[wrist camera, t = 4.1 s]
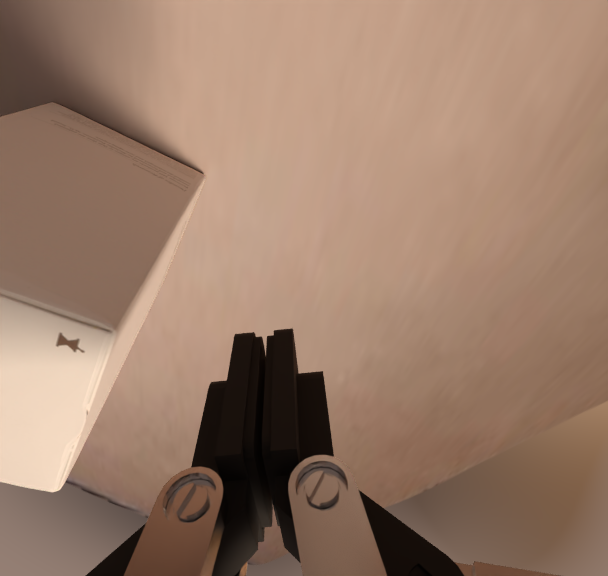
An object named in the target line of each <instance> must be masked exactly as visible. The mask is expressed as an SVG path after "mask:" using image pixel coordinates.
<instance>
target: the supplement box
mask: <svg viewBox="0 0 608 576" xmlns="http://www.w3.org/2000/svg"><path fill="white" fill-rule="evenodd" d="M205 179H206V176H205V175H204V174H202V173H200V172H198V171H196V170H194V169H192V168H190V167H188V166H186V165H183V164H181V163H179V162H177V161H175V160H173V159H171V158H169V157H167V156H165V155H163V154H161V153H159V152H157V151H154V150H152V149H150V148H148V147H146V146H144V145H142V144H140V143H138V142H136V141H134V140H132V139H130V138H128V137H126V136H124V135H122V134H120V133H118V132H116V131H113V130H111V129H109V128H107V127H105V126H103V125H101V124H99V123H97V122H95V121H93V120H91V119H89V118H87V117H85V116H83V115H81V114H78V113H76V112H74V111H72V110H70V109H68V108H66V107H63V106H61V105H59V104H57V103H54V102H51V103H47V104H44V105H40V106H37V107H33V108H30V109H26V110H22V111H19V112H15V113H12V114H8V115H4V116H1V117H0V482H4V483H8V484H13V485H17V486H21V487H26V488H32V489H37V490H43V491H49V492H55V491H58V490H60V489H61V487H62V486H63V485H64V483H65V481H66V479H67V477H68V475H69V473H70V471H71V469H72V467H73V465H74V464H75V462H76V460H77V458H78V456H79V454H80V452H81V450H82V448H83V446H84V443H85V441H86V439H87V437H88V435H89V433H90V431H91V429H92V427H93V425H94V423H95V421H96V419H97V417H98V415H99V413H100V411H101V409H102V407H103V405H104V403H105V401H106V399H107V397H108V394H109V392H110V390H111V388H112V386H113V384H114V382H115V380H116V378H117V376H118V374H119V372H120V370H121V368H122V366H123V364H124V362H125V360H126V357H127V355H128V353H129V351H130V349H131V347H132V345H133V343H134V341H135V339H136V337H137V335H138V333H139V331H140V329H141V327H142V325H143V323H144V321H145V319H146V317H147V315H148V313H149V310H150V308H151V306H152V304H153V302H154V300H155V298H156V296H157V294H158V292H159V290H160V288H161V286H162V284H163V282H164V280H165V277H166V275H167V272H168V270H169V268H170V265H171V263H172V260H173V258H174V256H175V253H176V251H177V248H178V246H179V243H180V241H181V239H182V236H183V234H184V231H185V229H186V226H187V224H188V222H189V219H190V217H191V214H192V212H193V210H194V207H195V205H196V202H197V200H198V197H199V195H200V192H201V190H202V187H203V185H204V182H205Z"/></svg>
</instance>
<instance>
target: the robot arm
mask: <svg viewBox="0 0 608 576" xmlns="http://www.w3.org/2000/svg"><path fill="white" fill-rule="evenodd" d="M273 506H274V511H275V515H276V520H277V524H278V526H280V528H281V533H282V538H283V542H284V547H285V548H286V549H287V550H288V551H289V552H290V553H291V554H292V555H293V556H294V557H295V558H296V559H297V560H298V561H299V562H300V563H301V568H302V574H303V576H560V575H554V574H548V573H542V572H536V571H530V570H524V569H518V568H512V567H506V566H500V565H493V564H487V563H482V562H476V561H474V563H473V565H468V564H461V563H456V562H453V561H452V560H451V559H450V558H449V557H448V556H447V555H446V554H444V553H443V552H441V551H440V550H439V549H438V548H436V547H435V546H433V545H432V544H431V543H429V542H428V541H427V540H425V539H424V538H423V537H421V536H420V535H419V534H417V533H416V532H415V531H413V530H411V528H409V527H408V526H406V525H405V524H404V523H402V522H401V521H400V520H398V519H397V518H396V517H394V516H393V515H392V514H390V513H389V512H388V511H386V510H385V509H384V508H382V507H381V506H380V505H378V504H377V503H375V502H374V501H373V500H371V499H370V498H369V497H367V496H366V495H365V494H363V493H362V492H361V491H359V490H358V487H357V485H356V482H355V479H354V476H353V474H352V472H351V470H350V468H349V467H348V466H347V465H346V464H345V463H344V462H343V461H341V460H339V459H337V458H335V457H334V454H333V447H332V439H331V431H330V423H329V415H328V408H327V400H326V392H325V384H324V376H323V371H321V372H311V373H301V374H298V366H297V358H296V350H295V342H294V334H293V329H283V330H274V335H273V336H267V348H266V355H265V350H264V344H263V339H262V337H256V336H255V333H254V332H253V333H242V334H235V336H234V342H233V348H232V354H231V360H230V366H229V371H228V377H227V381H218V382H211V384H210V386H209V389H208V393H207V398H206V403H205V407H204V412H203V416H202V421H201V425H200V430H199V434H198V439H197V444H196V448H195V453H194V457H193V462H192V466H191V468H188V469H186V470H183V471H181V472H179V473H178V474H176V475H175V476H173V477H172V478H171V479H170V480H169V481H168V482H167V483H166V484H165V485H164V486H163V488H162V490H161V491H160V493H159V495H158V497H157V499H156V501H155V504H154V506H153V508H152V511H151V513H150V515H149V518H148V520H147V522H146V524H145V525H143V526H142V527H141V528H140V529H139V530H138V531H137V532H135V533H134V534H133V535H132V536H131V537H130V538H128V539H127V540H126V541H125V542H124V543H123V544H122V545H121V546H119V547H118V548H117V549H116V550H115V551H114V552H112V553H111V554H110V555H109V556H108V557H107V558H106V559H104V560H103V561H102V562H101V563H100V564H99V565H97V567H95V568H94V569H93V570H92V571H91V572H89V573H88V574H87V575H86V576H246V572H247V561H248V560H249V559H250V558H251V557H252V556H253V555H254V553H255V552H256V551H257V550H258V542H263V541H264V527H271V526H272V509H273Z"/></svg>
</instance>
